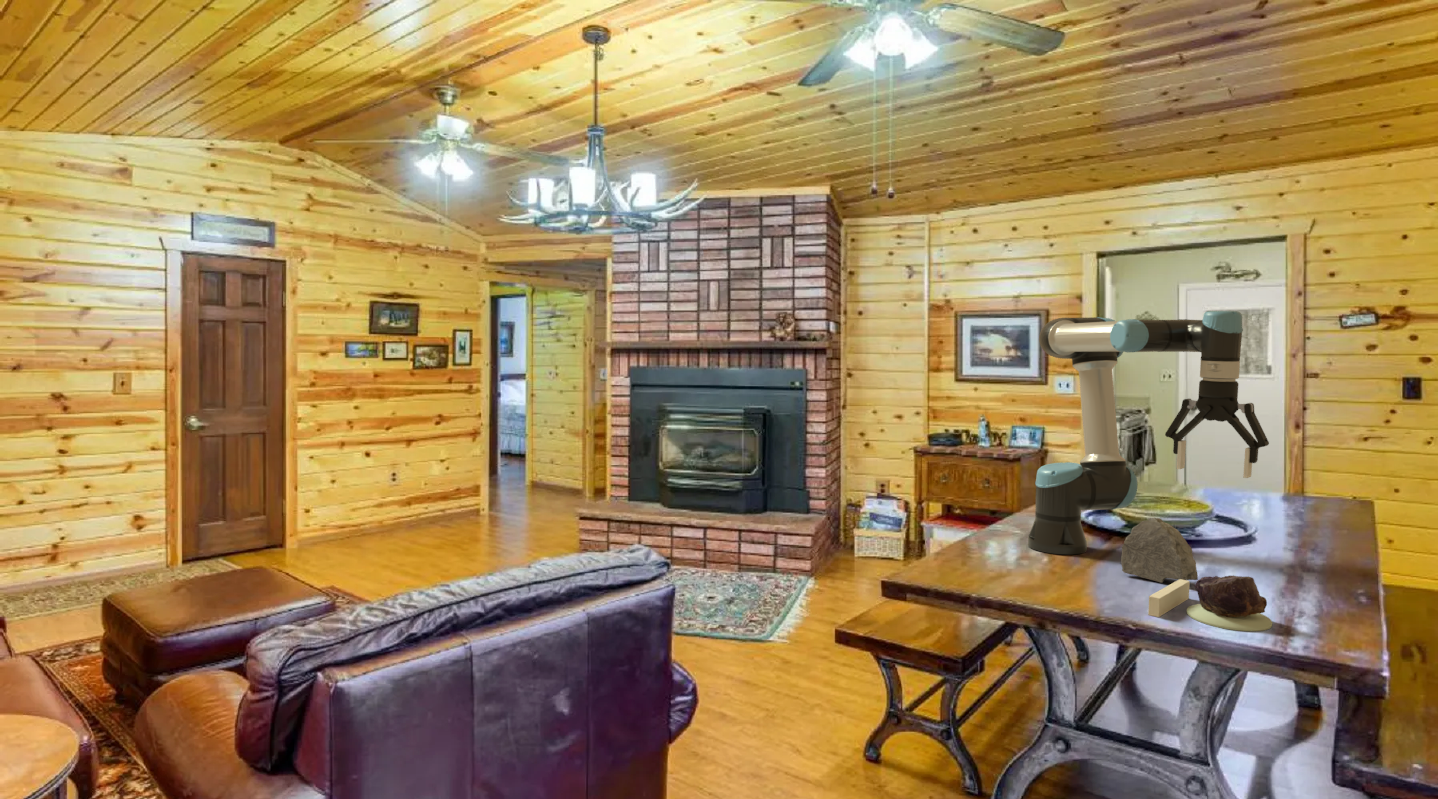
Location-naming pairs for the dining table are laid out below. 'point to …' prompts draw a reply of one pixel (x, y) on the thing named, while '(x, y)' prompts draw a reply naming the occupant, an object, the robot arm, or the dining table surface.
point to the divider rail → (1168, 598)
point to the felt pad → (1230, 620)
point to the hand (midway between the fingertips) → (1212, 472)
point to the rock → (1230, 596)
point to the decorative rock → (1158, 552)
